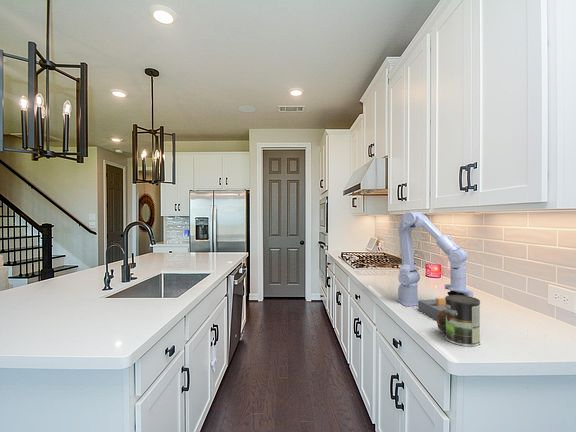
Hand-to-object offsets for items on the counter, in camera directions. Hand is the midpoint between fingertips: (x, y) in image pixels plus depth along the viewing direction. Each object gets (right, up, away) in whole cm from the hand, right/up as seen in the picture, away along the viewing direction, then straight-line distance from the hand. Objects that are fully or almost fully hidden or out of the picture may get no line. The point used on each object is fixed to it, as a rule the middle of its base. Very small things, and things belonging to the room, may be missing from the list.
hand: (458, 309), depth 134 cm
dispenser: (-9, -2, -1) cm, 10 cm away
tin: (-11, -2, -19) cm, 23 cm away
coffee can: (-14, -2, -28) cm, 31 cm away
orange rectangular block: (-4, -2, 0) cm, 4 cm away
